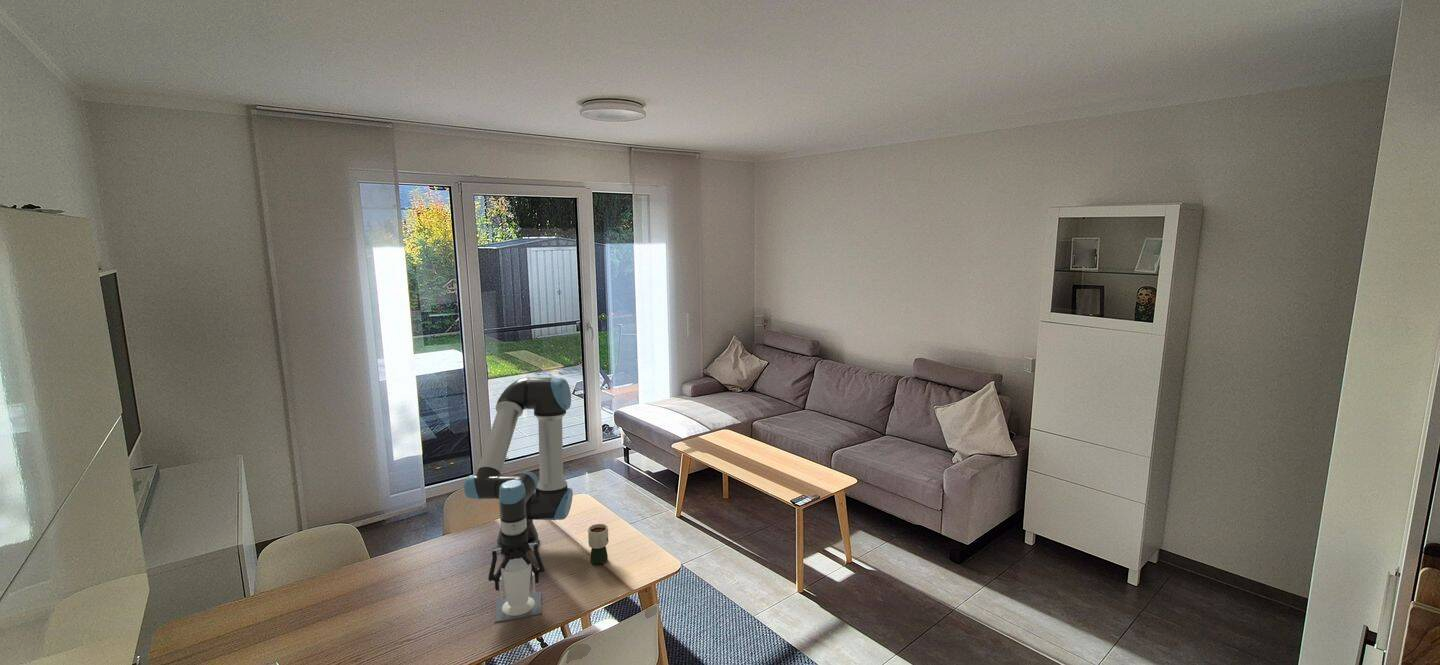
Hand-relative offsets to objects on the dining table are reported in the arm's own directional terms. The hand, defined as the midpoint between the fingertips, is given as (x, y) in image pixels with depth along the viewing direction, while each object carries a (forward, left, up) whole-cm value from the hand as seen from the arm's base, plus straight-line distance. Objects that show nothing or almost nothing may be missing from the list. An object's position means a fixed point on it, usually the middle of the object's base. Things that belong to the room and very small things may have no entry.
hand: (517, 595), depth 193 cm
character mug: (-19, +28, -4) cm, 34 cm away
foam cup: (0, 0, -2) cm, 2 cm away
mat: (0, 0, -4) cm, 4 cm away
